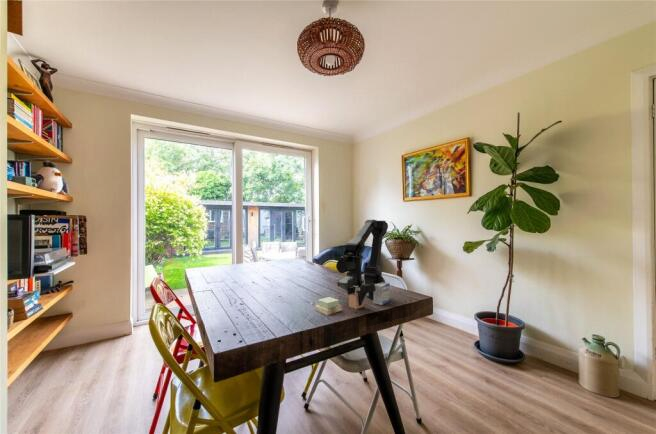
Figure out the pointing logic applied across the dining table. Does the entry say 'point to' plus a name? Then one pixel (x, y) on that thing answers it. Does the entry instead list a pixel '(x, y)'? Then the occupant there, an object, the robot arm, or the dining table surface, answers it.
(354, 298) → the terracotta block
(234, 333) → the dining table surface
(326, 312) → the maple slab
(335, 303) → the sage slab
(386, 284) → the medicine box
